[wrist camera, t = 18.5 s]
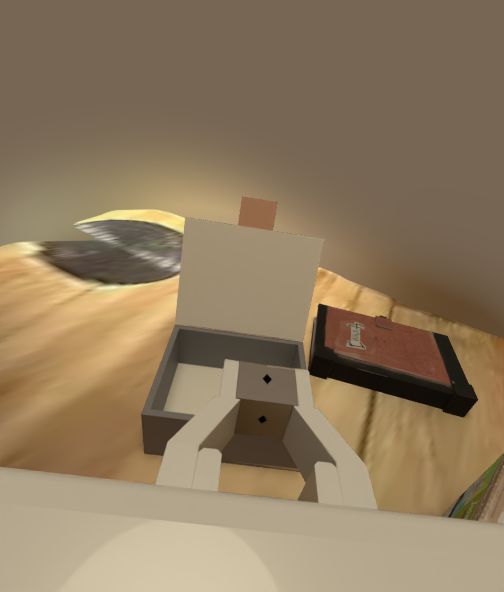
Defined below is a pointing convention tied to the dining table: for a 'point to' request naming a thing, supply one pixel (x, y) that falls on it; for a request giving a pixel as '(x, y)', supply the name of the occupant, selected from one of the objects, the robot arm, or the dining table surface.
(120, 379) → the dining table surface
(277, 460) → the box
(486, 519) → the tea box
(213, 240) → the lid
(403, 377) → the book
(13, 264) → the dining table surface
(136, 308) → the dining table surface
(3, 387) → the dining table surface
